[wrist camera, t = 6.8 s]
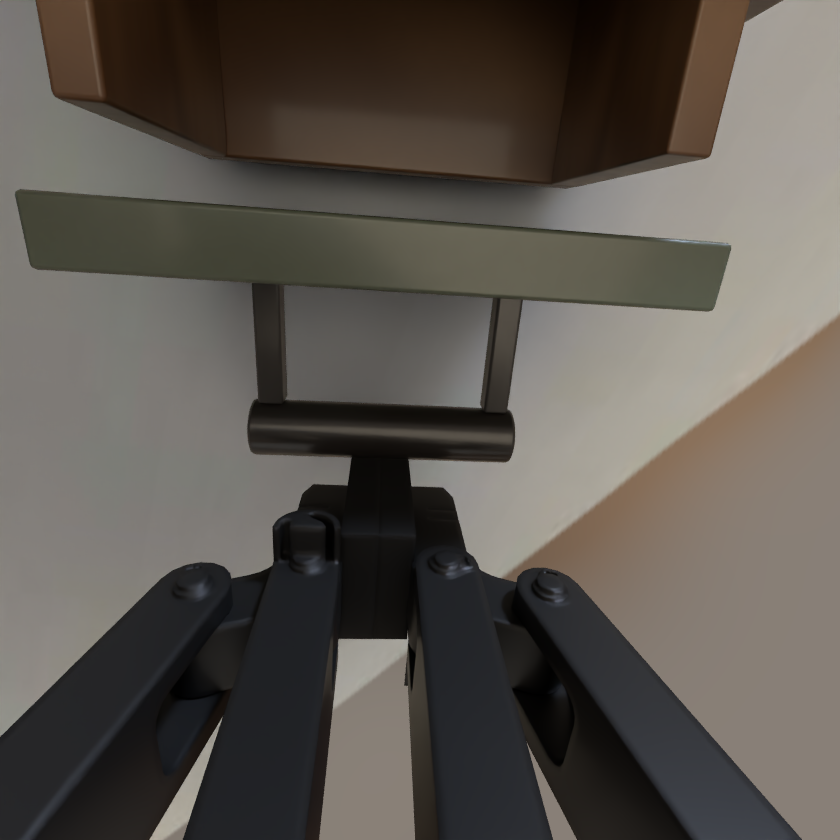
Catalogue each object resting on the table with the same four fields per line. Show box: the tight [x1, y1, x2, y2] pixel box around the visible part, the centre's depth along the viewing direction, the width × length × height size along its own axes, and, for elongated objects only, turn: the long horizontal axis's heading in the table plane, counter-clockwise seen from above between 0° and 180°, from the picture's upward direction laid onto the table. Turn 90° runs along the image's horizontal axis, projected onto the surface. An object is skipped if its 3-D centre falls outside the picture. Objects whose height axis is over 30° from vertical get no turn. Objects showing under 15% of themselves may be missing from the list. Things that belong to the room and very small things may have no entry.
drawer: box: [15, 0, 750, 463], centre depth 10 cm, size 18×12×7 cm, turn 176°
